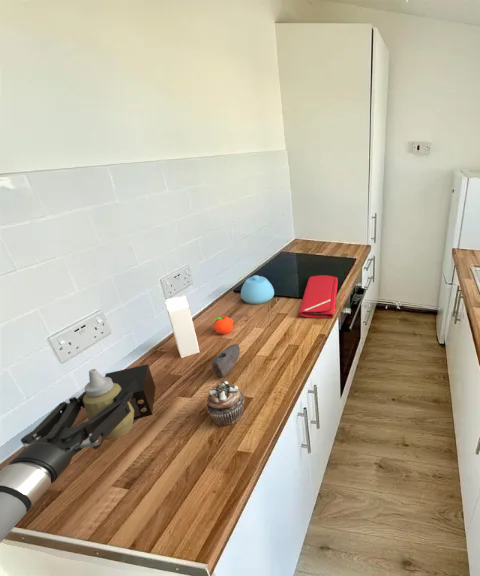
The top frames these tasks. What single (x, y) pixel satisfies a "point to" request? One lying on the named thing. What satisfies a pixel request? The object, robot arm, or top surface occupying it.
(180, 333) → the milk
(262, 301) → the sugar bowl
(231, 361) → the perforated stone tool
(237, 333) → the top surface
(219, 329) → the clementine
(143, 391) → the toaster oven
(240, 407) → the cupcake
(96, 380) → the squeeze bottle
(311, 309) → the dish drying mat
